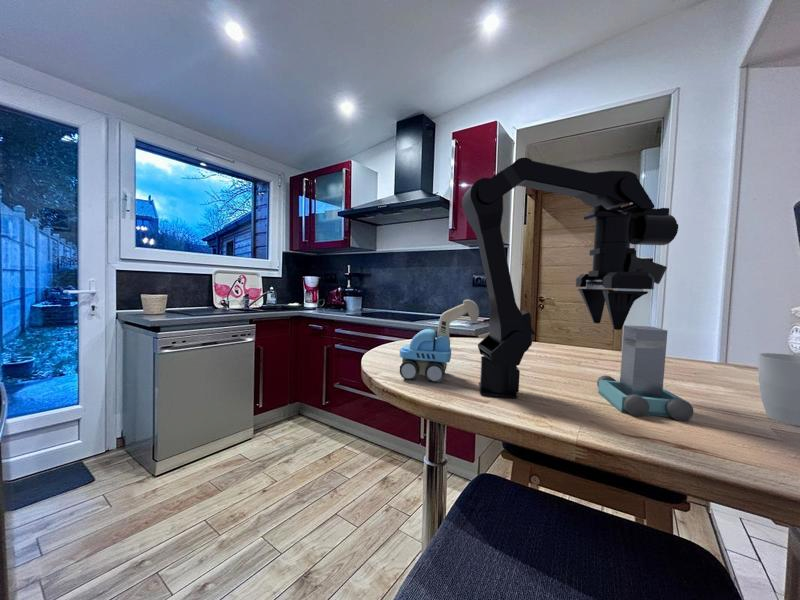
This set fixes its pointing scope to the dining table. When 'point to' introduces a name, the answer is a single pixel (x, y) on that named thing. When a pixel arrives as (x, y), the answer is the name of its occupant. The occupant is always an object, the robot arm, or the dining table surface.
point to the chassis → (644, 401)
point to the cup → (780, 386)
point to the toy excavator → (433, 346)
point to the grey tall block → (643, 361)
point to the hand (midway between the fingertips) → (606, 326)
